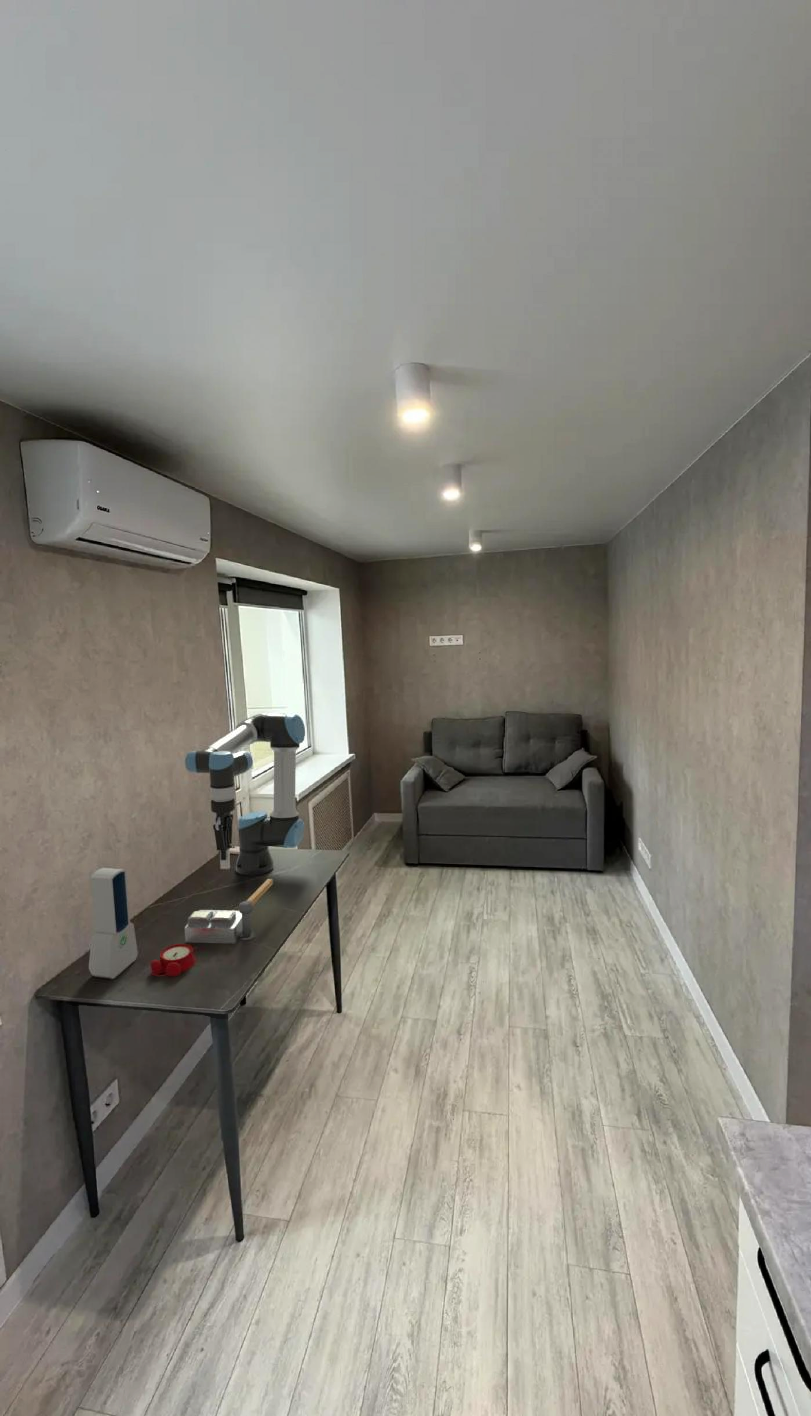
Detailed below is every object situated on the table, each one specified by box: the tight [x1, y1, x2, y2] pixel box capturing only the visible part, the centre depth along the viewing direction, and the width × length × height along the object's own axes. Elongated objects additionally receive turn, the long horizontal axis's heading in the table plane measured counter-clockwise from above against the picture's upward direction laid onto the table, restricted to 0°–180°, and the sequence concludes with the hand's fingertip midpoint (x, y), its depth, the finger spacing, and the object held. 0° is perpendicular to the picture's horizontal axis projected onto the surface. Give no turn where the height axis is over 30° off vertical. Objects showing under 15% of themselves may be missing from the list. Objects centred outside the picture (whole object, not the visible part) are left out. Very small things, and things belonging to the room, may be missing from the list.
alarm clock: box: [150, 943, 200, 978], centre depth 178 cm, size 10×6×15 cm
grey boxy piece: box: [184, 909, 256, 945], centre depth 197 cm, size 12×21×7 cm, turn 86°
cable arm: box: [238, 878, 274, 937], centre depth 203 cm, size 22×4×11 cm, turn 170°
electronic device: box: [88, 867, 139, 980], centre depth 176 cm, size 12×8×30 cm, turn 168°
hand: (225, 868), depth 201 cm, fingers closed
